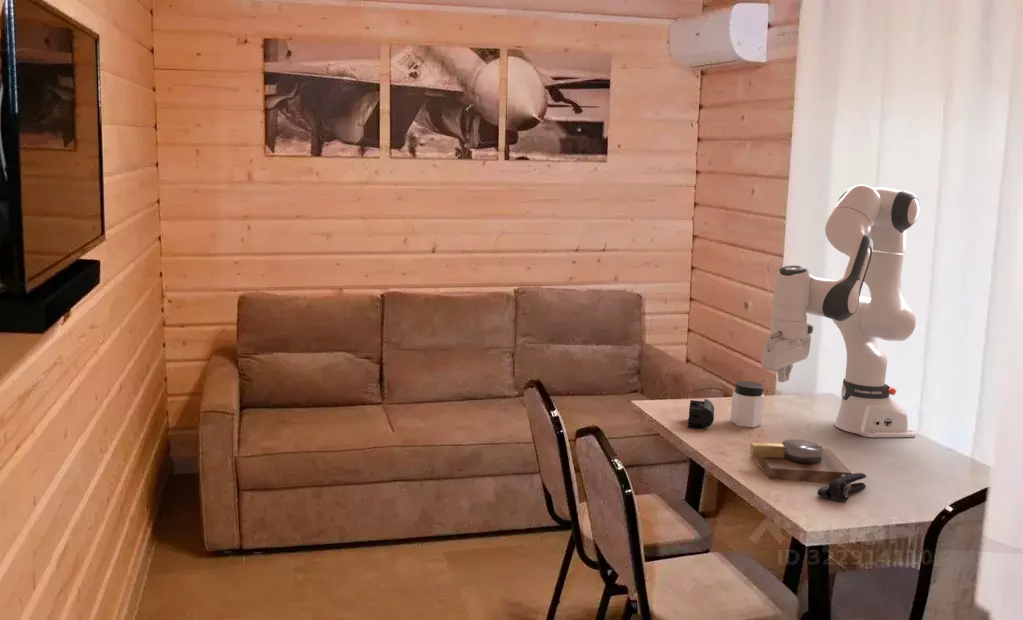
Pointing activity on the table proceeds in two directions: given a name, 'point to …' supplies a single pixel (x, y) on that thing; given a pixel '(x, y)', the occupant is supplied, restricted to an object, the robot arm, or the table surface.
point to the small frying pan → (789, 451)
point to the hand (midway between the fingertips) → (783, 381)
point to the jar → (747, 404)
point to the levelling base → (804, 469)
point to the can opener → (842, 487)
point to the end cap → (700, 414)
